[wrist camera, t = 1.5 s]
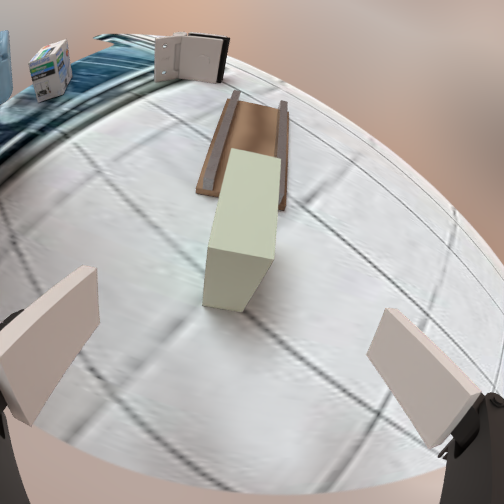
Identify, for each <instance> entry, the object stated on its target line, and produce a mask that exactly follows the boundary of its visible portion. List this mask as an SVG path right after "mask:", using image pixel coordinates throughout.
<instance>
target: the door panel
mask: <svg viewBox="0 0 504 504" xmlns="http://www.w3.org/2000/svg"><path fill="white" fill-rule="evenodd" d="M280 169H281V159H279V158H275V157H271V156H267V155H262V154H258V153H253V152H249V151H244V150H239V149H234V148H231V151H230V155H229V159H228V163H227V167H226V171H225V175H224V179H223V183H222V187H221V191H220V195H219V200H218V204H217V208H216V212H215V217H214V221H213V226H212V230H211V235H210V239H209V244H208V250H207V259H206V269H205V279H204V290H203V301H202V306H208V307H213V308H218V309H224V310H230V311H236V312H243V310H244V309H245V307H246V305H247V304H248V302H249V300H250V299H251V297H252V296H253V294H254V292H255V291H256V289H257V287H258V286H259V284H260V282H261V281H262V279H263V277H264V276H265V274H266V272H267V271H268V269H269V267H270V266H271V264H272V262H273V261H274V255H275V242H276V229H277V215H278V200H279V185H280Z"/></svg>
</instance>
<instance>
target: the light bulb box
mask: <svg viewBox="0 0 504 504" xmlns="http://www.w3.org/2000/svg"><path fill="white" fill-rule="evenodd" d="M28 65H29V68H30V73H31V77H32V81H33V85H34V89H35V93H36V97H37V100H38V103H39V102H42V101H44V100H47V99H50V98H53V97H57V96H60V95H63V94H64V92H65V90H66V88H67V85H68V83H69V81H70V79H71V78H72V71H71V65H70V59H69V51H68V42H67V39H66V40H63V41H60V42H56V43H53V44H50V45H48V46H44V47H42V48H41V49H40V51H39V52H38V53H37V54H36V55H35V56H34V57H33V58H32V60H31V61H30V62H29V63H28Z"/></svg>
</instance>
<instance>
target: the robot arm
mask: <svg viewBox="0 0 504 504" xmlns="http://www.w3.org/2000/svg"><path fill="white" fill-rule="evenodd" d="M11 71H12V70H11V57H10V40H9V31H8V30H5V31H1V32H0V105H1V104H3V103H4V102H6V101H7V100H8V99H9V97H10V96H11V94H12V90H13V84H12V72H11ZM99 324H100V318H99V304H98V283H97V268H95V267H90V266H85V265H82V266H80V267H79V268H78V269H76V270H75V271H74V272H72V273H71V274H69V275H68V276H67V277H65V278H64V279H63V280H61V281H60V282H59V283H58V284H56V285H55V286H54V287H52V288H51V289H50V290H49V291H47V292H46V293H45V294H43V295H42V296H41V297H40V298H38V299H37V300H36V301H35V302H34V303H32V304H31V305H30V306H29V307H27V308H26V309H25V310H24V309H22V310H20V311H18V312H15V313H13V314H11V315H10V316H9V317H8V318H6V319H5V320H4V321H3V323H1V324H0V504H30V502H29V499H28V497H27V494H26V491H25V489H24V486H23V483H22V480H21V477H20V474H19V471H18V467H17V464H16V460H15V457H14V453H13V449H12V445H11V440H10V436H9V431H8V425H7V420H6V416H5V414H4V412H3V410H4V409H5V408H6V406H7V405H8V407H9V409H10V411H11V413H12V415H13V416H14V417H15V418H16V419H18V420H20V421H22V422H23V423H25V424H27V425H29V426H32V425H33V423H34V421H35V420H36V418H37V416H38V414H39V413H40V411H41V409H42V408H43V406H44V405H45V403H46V401H47V400H48V398H49V396H50V395H51V393H52V392H53V390H54V389H55V387H56V386H57V384H58V382H59V381H60V379H61V378H62V376H63V375H64V373H65V372H66V370H67V369H68V367H69V366H70V364H71V363H72V362H73V360H74V359H75V357H76V356H77V354H78V353H79V352H80V350H81V349H82V347H83V346H84V345H85V343H86V342H87V340H88V339H89V338H90V336H91V335H92V333H93V332H94V331H95V329H96V328H97V327H98V325H99ZM366 355H367V357H368V358H369V360H370V361H371V362H372V364H373V365H374V367H375V368H376V370H377V371H378V373H379V374H380V376H381V377H382V378H383V380H384V381H385V383H386V384H387V386H388V387H389V389H390V390H391V392H392V393H393V395H394V396H395V398H396V399H397V401H398V402H399V404H400V405H401V407H402V408H403V410H404V411H405V413H406V414H407V416H408V417H409V419H410V421H411V422H412V424H413V425H414V427H415V428H416V430H417V431H418V433H419V435H420V436H421V438H422V439H423V441H424V442H425V444H426V446H427V447H428V449H431V448H433V447H436V446H438V445H441V444H442V443H443V442H444V441H445V439H446V438H447V437H448V436H449V435H450V434H451V435H452V436H453V437H454V438H453V439H452V440H451V441H450V442H449V443H448V444H447V446H446V447H445V448H444V449H443V450H442V451H441V452H440V453H439V455H438V458H440V457H441V456H442V455H443V454H444V453H445V452H448V453H447V454H446V455H445V456H444V457H443V459H445V460H447V464H446V471H445V478H444V484H443V489H442V494H441V499H440V504H504V399H503V398H502V397H501V396H500V395H498V394H496V393H491V392H490V393H487V394H486V396H484V395H483V394H482V393H481V392H482V391H481V390H480V389H479V388H478V387H477V386H476V385H475V384H474V383H473V382H472V380H471V379H470V378H469V377H468V376H467V375H466V374H465V373H464V372H463V371H462V370H461V369H460V368H459V367H458V366H457V365H456V364H455V363H454V362H453V361H452V360H451V359H450V358H449V357H448V356H447V355H446V354H445V353H444V352H443V351H442V350H441V349H440V348H439V347H438V346H436V345H435V344H434V343H433V342H432V341H431V340H430V339H429V338H428V337H427V336H426V335H425V334H424V333H423V332H422V331H421V330H420V329H419V328H417V327H416V326H415V325H414V324H413V323H412V322H411V321H410V320H409V319H408V318H407V317H406V316H404V315H403V314H402V313H401V312H400V311H399V310H398V309H393V308H385V311H384V313H383V316H382V318H381V321H380V323H379V326H378V328H377V331H376V333H375V336H374V338H373V340H372V343H371V345H370V347H369V350H368V352H367V354H366Z"/></svg>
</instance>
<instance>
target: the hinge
mask: <svg viewBox="0 0 504 504" xmlns="http://www.w3.org/2000/svg"><path fill="white" fill-rule="evenodd" d="M229 42H230V38H228V37H227V36H221V35H213V34H205V33H194V32H190V33H189V34H188V36H187V33H185V32H176V33H173V36H167V37H160V38H155V68H154V81H155V82H159V81H164V80H170V79H175V78H179V79H187V80H195V81H202V82H209V83H215V84H216V82H217V83H221V80H223V75H224V69H225V63H226V58H227V52H228V46H229ZM164 44H167V47H165V48H163V45H164ZM163 71H166V73H165V74H162V72H163Z"/></svg>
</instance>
